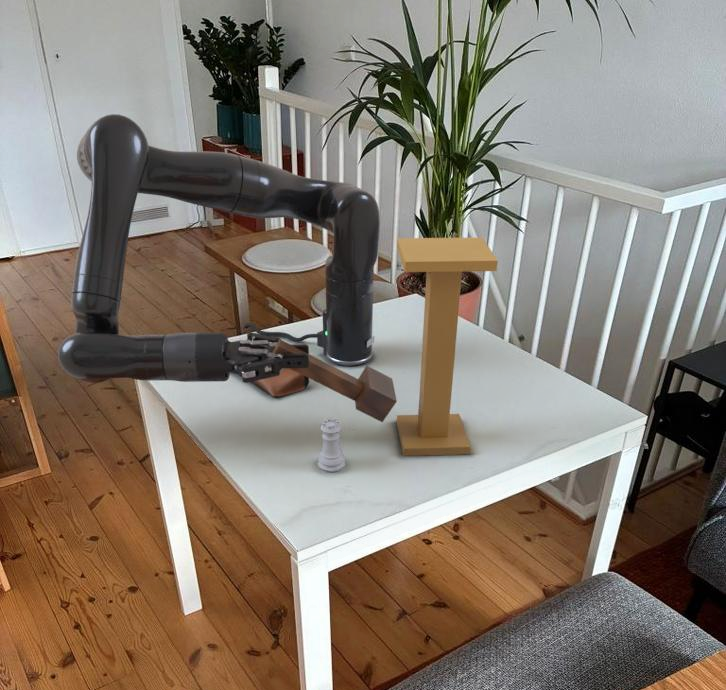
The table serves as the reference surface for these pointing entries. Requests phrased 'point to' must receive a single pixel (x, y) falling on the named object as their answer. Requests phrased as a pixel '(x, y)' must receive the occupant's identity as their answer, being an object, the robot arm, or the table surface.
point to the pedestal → (439, 340)
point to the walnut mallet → (350, 383)
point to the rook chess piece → (331, 447)
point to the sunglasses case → (283, 383)
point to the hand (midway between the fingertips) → (308, 355)
